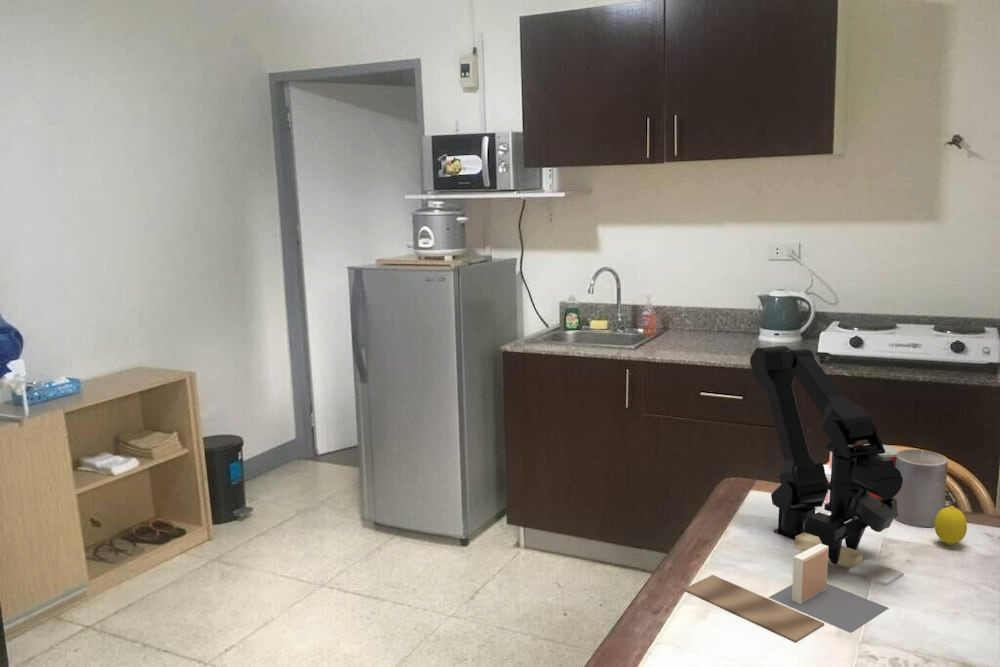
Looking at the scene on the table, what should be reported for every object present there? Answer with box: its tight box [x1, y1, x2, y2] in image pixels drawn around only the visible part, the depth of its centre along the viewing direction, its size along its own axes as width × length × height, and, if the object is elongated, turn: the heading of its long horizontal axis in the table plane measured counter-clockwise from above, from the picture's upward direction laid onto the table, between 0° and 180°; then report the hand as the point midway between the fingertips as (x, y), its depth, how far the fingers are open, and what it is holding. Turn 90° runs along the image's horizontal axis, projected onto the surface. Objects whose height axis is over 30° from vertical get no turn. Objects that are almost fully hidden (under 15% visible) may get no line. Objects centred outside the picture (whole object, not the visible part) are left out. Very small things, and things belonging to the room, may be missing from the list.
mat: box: [768, 583, 890, 634], centre depth 143 cm, size 15×12×1 cm
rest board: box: [683, 574, 825, 643], centre depth 142 cm, size 22×8×1 cm, turn 38°
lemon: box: [934, 505, 968, 546], centre depth 164 cm, size 6×6×8 cm
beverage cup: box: [816, 451, 832, 514], centre depth 182 cm, size 6×6×14 cm
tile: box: [792, 543, 829, 604], centre depth 144 cm, size 2×8×8 cm, turn 128°
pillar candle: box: [894, 449, 949, 528], centre depth 176 cm, size 10×10×15 cm
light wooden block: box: [794, 532, 904, 587], centre depth 157 cm, size 19×6×3 cm, turn 38°
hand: (842, 558), depth 157 cm, fingers open, 6 cm apart
